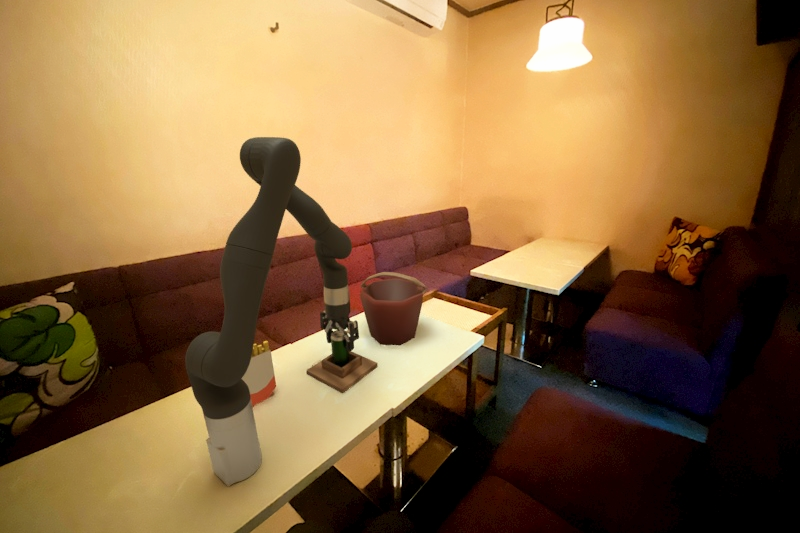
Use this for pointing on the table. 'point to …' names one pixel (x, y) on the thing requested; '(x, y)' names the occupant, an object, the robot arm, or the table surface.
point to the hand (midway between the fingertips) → (340, 346)
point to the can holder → (342, 371)
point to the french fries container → (260, 374)
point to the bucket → (392, 307)
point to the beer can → (339, 349)
